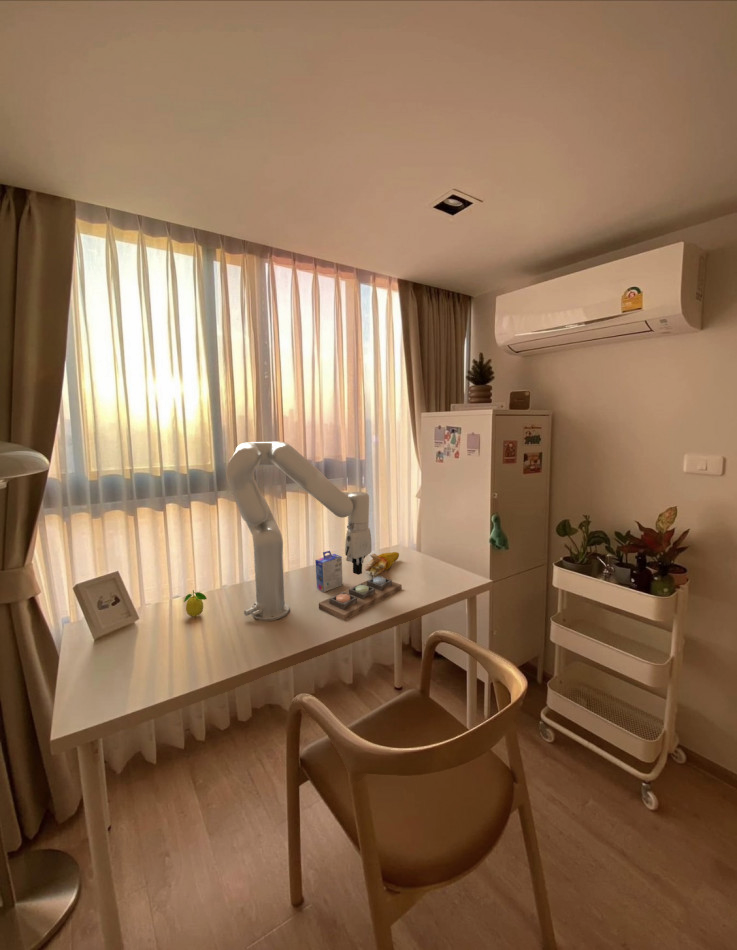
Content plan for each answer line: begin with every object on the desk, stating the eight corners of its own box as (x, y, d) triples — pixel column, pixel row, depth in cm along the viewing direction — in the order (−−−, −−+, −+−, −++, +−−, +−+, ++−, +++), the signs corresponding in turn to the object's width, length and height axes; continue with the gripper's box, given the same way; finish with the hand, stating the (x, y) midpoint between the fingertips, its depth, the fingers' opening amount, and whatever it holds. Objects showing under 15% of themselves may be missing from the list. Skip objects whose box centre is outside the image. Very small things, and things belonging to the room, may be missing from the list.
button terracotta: (343, 607, 142) (343, 601, 142) (333, 602, 146) (333, 597, 145) (353, 602, 146) (353, 596, 146) (343, 597, 149) (343, 592, 149)
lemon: (208, 617, 140) (206, 590, 139) (190, 623, 136) (188, 595, 135) (200, 610, 145) (198, 584, 143) (183, 616, 141) (181, 589, 140)
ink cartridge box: (335, 581, 169) (334, 547, 167) (343, 585, 165) (342, 551, 163) (315, 588, 163) (314, 553, 160) (323, 592, 159) (322, 557, 156)
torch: (398, 569, 191) (371, 581, 170) (385, 558, 195) (357, 569, 173) (406, 555, 189) (380, 566, 168) (393, 544, 192) (366, 554, 171)
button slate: (380, 588, 157) (380, 583, 157) (370, 584, 160) (370, 579, 160) (388, 584, 161) (388, 579, 160) (378, 580, 164) (378, 576, 164)
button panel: (344, 620, 137) (344, 610, 137) (318, 608, 146) (318, 598, 145) (401, 589, 161) (401, 580, 160) (376, 580, 170) (376, 571, 169)
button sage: (362, 597, 150) (362, 592, 149) (352, 593, 153) (352, 588, 153) (371, 592, 153) (371, 587, 153) (361, 588, 157) (361, 584, 156)
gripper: (351, 531, 141) (350, 582, 144) (379, 523, 152) (378, 570, 155) (336, 527, 146) (335, 576, 149) (364, 520, 157) (363, 565, 160)
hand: (357, 573), depth 152 cm, fingers closed
